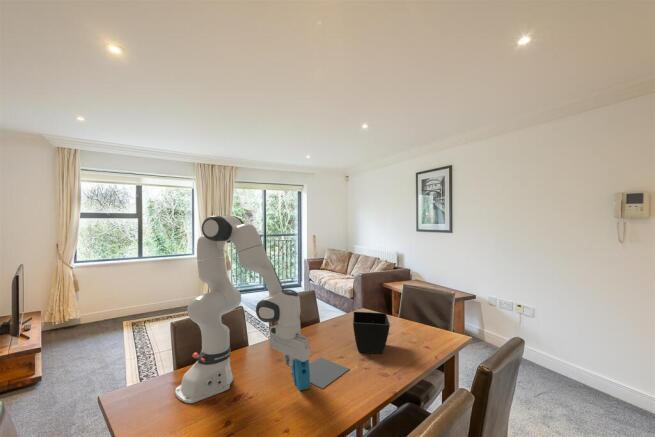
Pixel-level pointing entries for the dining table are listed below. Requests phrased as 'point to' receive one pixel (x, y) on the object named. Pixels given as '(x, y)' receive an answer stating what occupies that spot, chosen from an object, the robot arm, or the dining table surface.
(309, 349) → the robot arm
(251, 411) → the dining table surface
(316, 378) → the charcoal mat
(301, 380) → the block
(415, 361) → the dining table surface
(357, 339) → the flower pot
